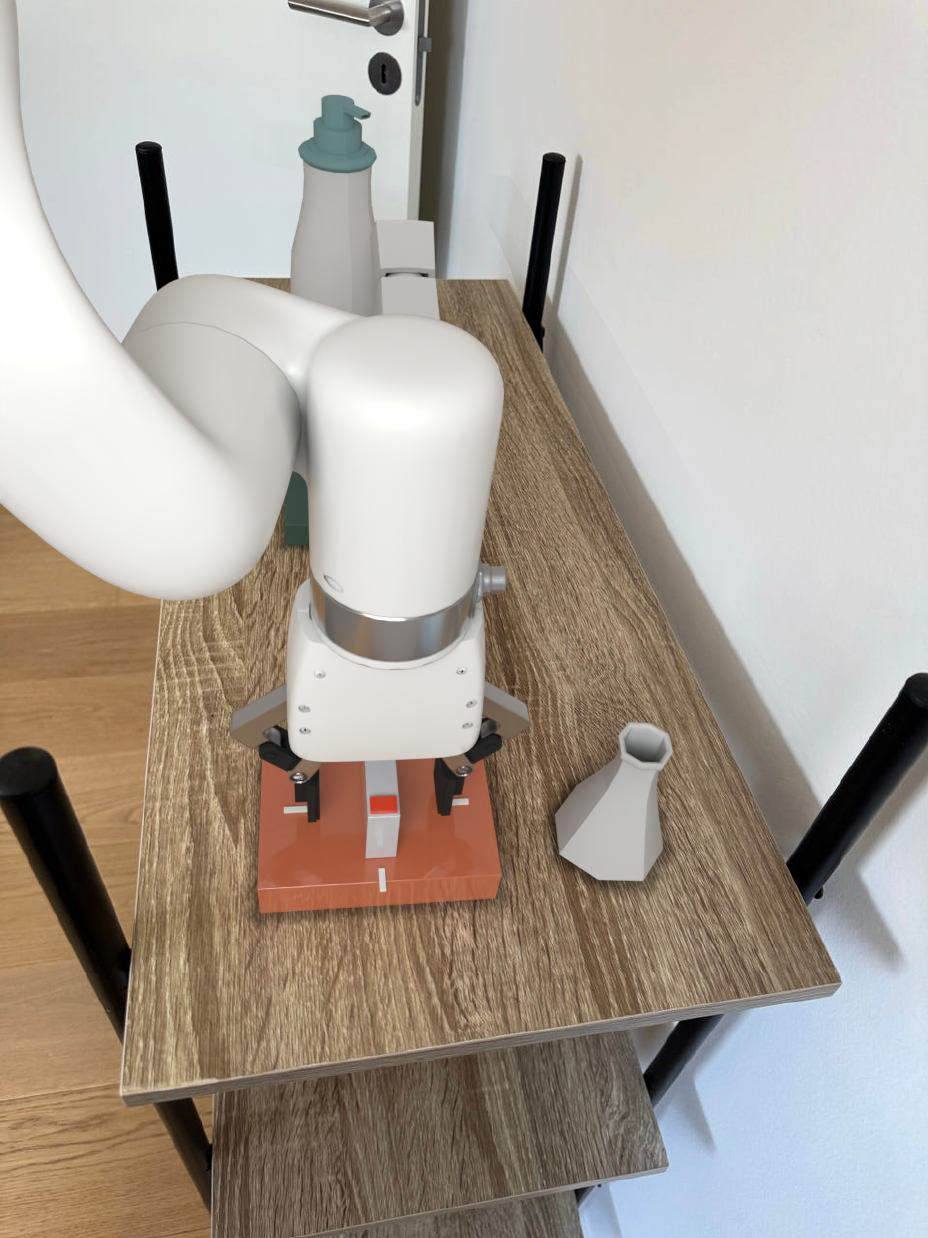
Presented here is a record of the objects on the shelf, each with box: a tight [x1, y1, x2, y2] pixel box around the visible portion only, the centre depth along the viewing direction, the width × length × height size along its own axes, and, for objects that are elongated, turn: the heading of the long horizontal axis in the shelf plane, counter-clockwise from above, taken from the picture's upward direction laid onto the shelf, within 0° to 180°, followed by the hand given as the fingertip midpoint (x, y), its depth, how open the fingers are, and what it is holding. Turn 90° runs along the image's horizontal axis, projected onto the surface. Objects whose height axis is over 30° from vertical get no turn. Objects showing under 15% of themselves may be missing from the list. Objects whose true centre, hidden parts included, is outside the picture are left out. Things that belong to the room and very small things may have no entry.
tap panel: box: [256, 758, 503, 914], centre depth 56 cm, size 14×11×3 cm
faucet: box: [370, 219, 441, 320], centre depth 88 cm, size 6×16×20 cm
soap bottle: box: [289, 94, 378, 317], centre depth 91 cm, size 10×10×23 cm
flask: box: [554, 721, 674, 882], centre depth 56 cm, size 7×7×10 cm
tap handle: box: [361, 760, 400, 858], centre depth 54 cm, size 7×2×5 cm, turn 7°
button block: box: [284, 471, 309, 546], centre depth 78 cm, size 12×10×4 cm
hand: (378, 797), depth 55 cm, fingers open, 7 cm apart
